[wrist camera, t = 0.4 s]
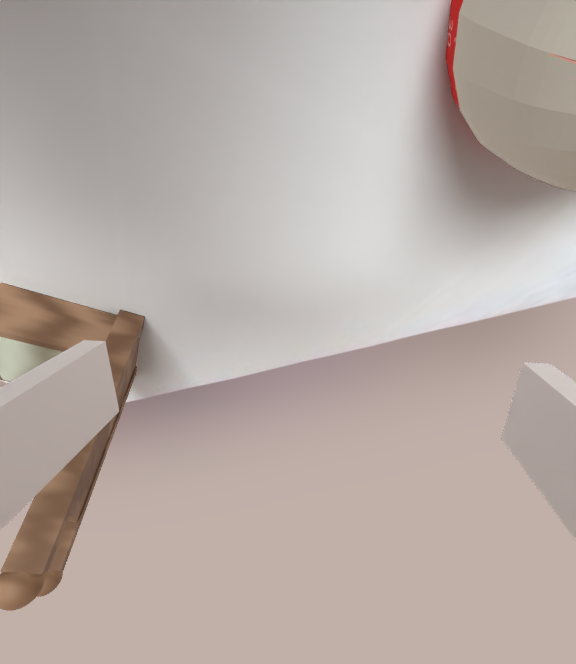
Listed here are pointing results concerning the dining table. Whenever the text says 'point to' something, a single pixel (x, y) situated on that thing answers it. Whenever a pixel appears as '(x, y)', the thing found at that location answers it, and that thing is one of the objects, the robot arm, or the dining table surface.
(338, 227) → the dining table surface
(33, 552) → the wooden l-shaped piece
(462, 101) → the kitchen timer
